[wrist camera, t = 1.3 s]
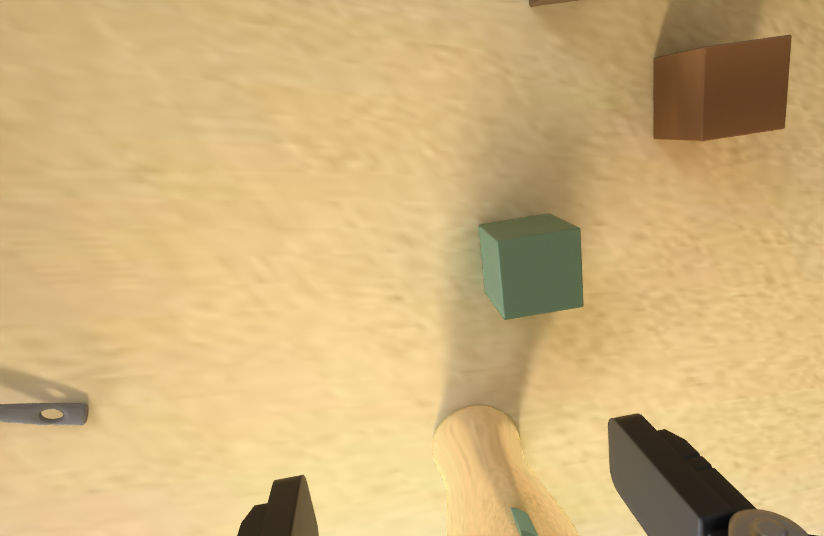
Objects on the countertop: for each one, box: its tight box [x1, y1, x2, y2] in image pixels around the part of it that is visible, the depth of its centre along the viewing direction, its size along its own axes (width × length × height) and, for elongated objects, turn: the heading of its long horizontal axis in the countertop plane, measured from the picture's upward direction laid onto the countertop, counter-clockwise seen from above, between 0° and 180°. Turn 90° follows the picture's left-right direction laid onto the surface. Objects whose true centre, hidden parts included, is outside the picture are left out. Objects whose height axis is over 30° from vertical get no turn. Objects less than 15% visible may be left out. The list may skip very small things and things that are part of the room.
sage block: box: [478, 214, 583, 320], centre depth 29 cm, size 4×4×4 cm
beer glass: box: [432, 406, 580, 536], centre depth 27 cm, size 7×7×15 cm
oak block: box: [654, 35, 792, 141], centre depth 27 cm, size 4×4×4 cm
